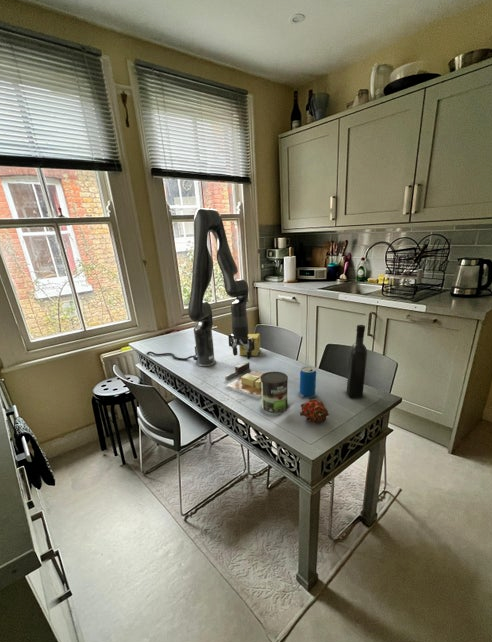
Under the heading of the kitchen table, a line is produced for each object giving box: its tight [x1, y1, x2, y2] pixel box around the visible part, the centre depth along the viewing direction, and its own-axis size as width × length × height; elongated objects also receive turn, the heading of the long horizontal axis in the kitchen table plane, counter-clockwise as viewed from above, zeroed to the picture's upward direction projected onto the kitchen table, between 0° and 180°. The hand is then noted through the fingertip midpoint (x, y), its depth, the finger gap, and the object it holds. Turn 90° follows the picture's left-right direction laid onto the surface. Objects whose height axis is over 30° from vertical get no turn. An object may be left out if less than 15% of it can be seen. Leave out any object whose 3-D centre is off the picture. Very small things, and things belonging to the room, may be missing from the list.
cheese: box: [238, 333, 261, 357], centre depth 180 cm, size 10×11×10 cm
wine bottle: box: [346, 324, 368, 399], centre depth 126 cm, size 6×6×30 cm
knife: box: [225, 360, 251, 381], centre depth 152 cm, size 2×16×5 cm, turn 141°
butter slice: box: [255, 378, 261, 389], centre depth 139 cm, size 2×5×3 cm, turn 141°
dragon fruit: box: [299, 399, 330, 424], centre depth 116 cm, size 8×8×12 cm
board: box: [226, 369, 265, 397], centre depth 144 cm, size 18×20×2 cm
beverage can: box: [299, 366, 317, 399], centre depth 131 cm, size 6×6×12 cm
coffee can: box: [261, 371, 289, 416], centre depth 122 cm, size 10×10×14 cm
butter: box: [240, 372, 259, 387], centre depth 143 cm, size 7×5×3 cm, turn 51°
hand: (242, 356), depth 153 cm, fingers open, 8 cm apart
